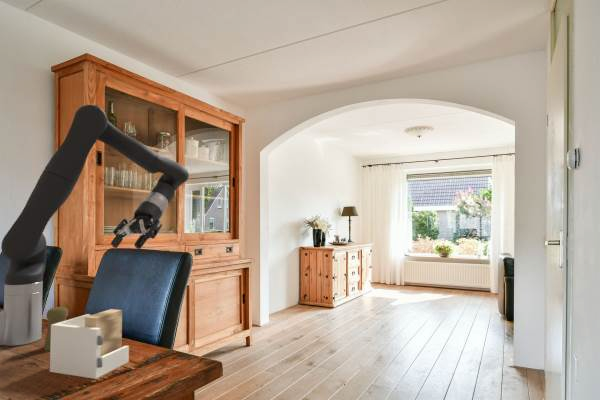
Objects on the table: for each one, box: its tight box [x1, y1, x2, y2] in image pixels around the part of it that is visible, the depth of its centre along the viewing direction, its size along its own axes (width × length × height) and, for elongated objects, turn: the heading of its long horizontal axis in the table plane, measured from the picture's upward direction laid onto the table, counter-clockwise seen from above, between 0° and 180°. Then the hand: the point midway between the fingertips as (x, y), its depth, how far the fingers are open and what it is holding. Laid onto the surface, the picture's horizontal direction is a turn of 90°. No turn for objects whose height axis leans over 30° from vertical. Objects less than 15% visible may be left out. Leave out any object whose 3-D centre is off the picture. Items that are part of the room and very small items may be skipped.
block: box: [85, 308, 123, 357], centre depth 92 cm, size 8×4×12 cm, turn 162°
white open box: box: [49, 313, 130, 380], centre depth 92 cm, size 10×15×11 cm
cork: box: [43, 306, 69, 352], centre depth 107 cm, size 6×6×11 cm
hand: (124, 246), depth 112 cm, fingers open, 8 cm apart
